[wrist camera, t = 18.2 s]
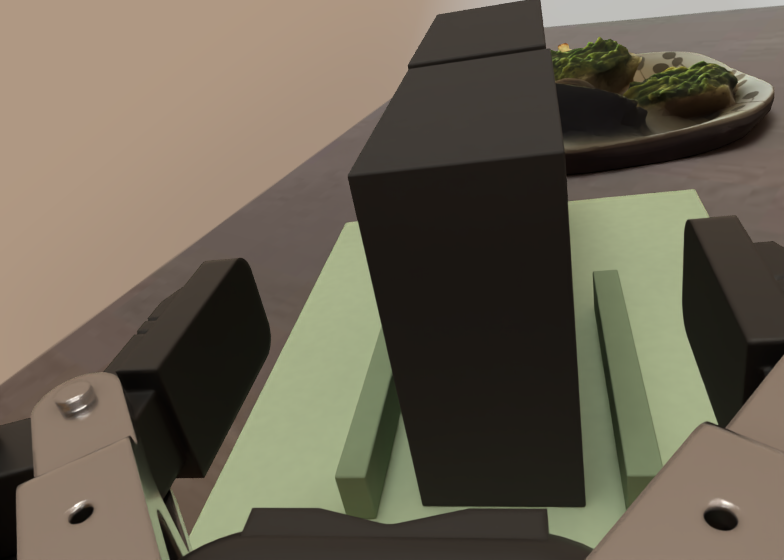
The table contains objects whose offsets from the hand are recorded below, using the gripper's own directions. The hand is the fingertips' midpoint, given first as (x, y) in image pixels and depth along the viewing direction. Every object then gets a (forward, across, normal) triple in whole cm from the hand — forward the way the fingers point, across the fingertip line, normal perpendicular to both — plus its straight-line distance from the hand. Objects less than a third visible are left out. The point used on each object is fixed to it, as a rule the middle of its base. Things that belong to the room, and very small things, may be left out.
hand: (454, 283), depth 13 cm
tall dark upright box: (+5, 0, +7) cm, 9 cm away
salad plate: (+31, -5, +8) cm, 33 cm away
